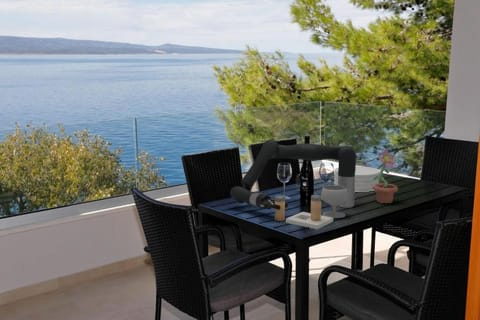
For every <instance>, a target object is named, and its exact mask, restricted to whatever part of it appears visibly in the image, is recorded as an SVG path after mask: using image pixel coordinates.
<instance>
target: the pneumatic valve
mask: <svg viewBox="0 0 480 320" xmlns="http://www.w3.org/2000/svg"><path fill="white" fill-rule="evenodd" d="M300 174H301V173H300ZM300 174H299V173H298V174H297V175H296V178H295V183H296V185H298V186H301V185H300ZM315 179H316V177H314V181H315Z"/></svg>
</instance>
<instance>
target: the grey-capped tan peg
mask: <svg viewBox="0 0 480 320" xmlns="http://www.w3.org/2000/svg"><path fill="white" fill-rule="evenodd" d="M274 199H275V204H276V205H280V210H277V209H274V221H278V222H283V221H286V218H285V217H286V216H285V215H286V208H285V203H286V197H285V195H275V196H274Z"/></svg>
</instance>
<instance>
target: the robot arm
mask: <svg viewBox="0 0 480 320" xmlns="http://www.w3.org/2000/svg"><path fill="white" fill-rule="evenodd" d="M270 159H292V160H302V161H324V160H332V161H333V160H334V161H338V167H337V168H338V185H339V186H344V187H346V189H347V191H348V199H347V200H346V201H345V202H344V203H342V204H340V205H338V206H337V207H339V208H344V209H345V208H347V209H349V208H353V207H355V195H356V193H355V171H356V166H357V165H356V164H357V153H356V151H355V149H354V148H353V147H351V146H349V145H340V146H339V145H337V146H335V145H334V146H330V145H324V144H318V143H317V144H316V143H315V144H314V143H298V144H293V145H291V144H290V145H283V144H279V143H278V141H276V139H272V138H269V139H266V140H265V141H264V142H263V144H262V146H261V149H260V150H259V152H258V154H257V156H256V158H255V160H254V161H253V163H252V165H251V166H250V167H249V169H248V170H247V172H246V173H245V175H244V176H243V178H242V179H241V184H242V186H234V187H232V188H231V190H230V196H231V198H232V199H234V200H235V202H237V203H238V204H247V205H250V206H253V207H256V208H259V209H262V210H271V209H272V210H275V209H277V210H280V205H276V204H275V198H272V197H271V196H270V195H268V194H264V193H261V192H254V191H252V190H253V187H254V185H255V184H256V182H257V181H258V179H259V178H260V176H261V174H262V171H264V168H265V166H266V164H267V163H268V162H269V160H270ZM287 208H289V203H287V202H285V209H287Z"/></svg>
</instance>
